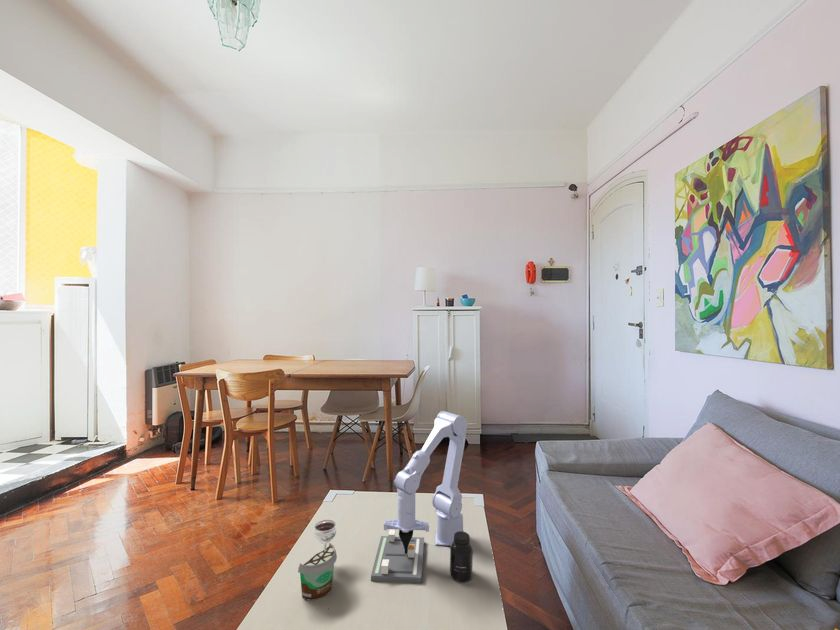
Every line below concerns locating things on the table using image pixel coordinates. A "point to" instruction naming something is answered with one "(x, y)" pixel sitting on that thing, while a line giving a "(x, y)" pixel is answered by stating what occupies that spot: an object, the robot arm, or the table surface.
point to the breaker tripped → (411, 551)
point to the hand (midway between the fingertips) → (406, 551)
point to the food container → (318, 574)
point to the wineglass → (325, 531)
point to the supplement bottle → (461, 557)
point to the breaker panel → (399, 561)
